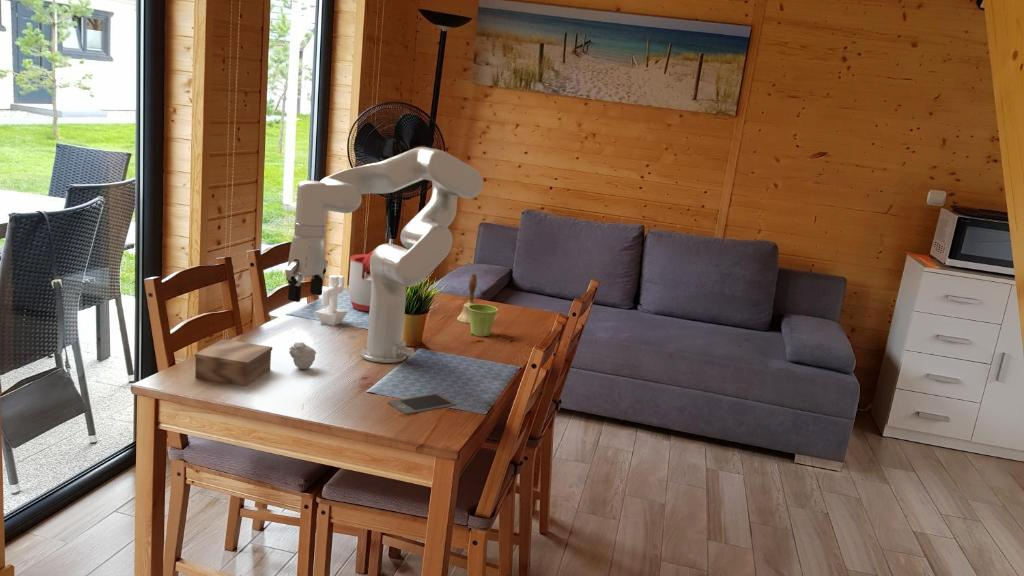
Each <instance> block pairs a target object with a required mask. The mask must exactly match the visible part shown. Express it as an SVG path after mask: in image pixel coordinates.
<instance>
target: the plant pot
mask: <svg viewBox="0 0 1024 576" xmlns="http://www.w3.org/2000/svg"><path fill="white" fill-rule="evenodd" d="M468 309H469V313H470V323H469V324H470V325H469V326H470V334H471V335H474V336H475V337H481V338H482V337H483V338H484V337H486V336H487V337H488V336H489V337H490V334H491V331H492V326H493V323H494V320H495V316H496V315H497V312H498V311H499V309H498V308H497V307H496V306H494V305H491V304H490V305H489V304H481V303H474V304H472V305H469V306H468Z"/></svg>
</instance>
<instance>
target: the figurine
mask: <svg viewBox="0 0 1024 576" xmlns="http://www.w3.org/2000/svg"><path fill="white" fill-rule="evenodd" d="M328 283H329V284H328V287H327V288H324V289H322V295H321V306H323V307H324V308H322V309H319V310H317V311H315V314H316V315H317V317H318V320H319V322H320V323H321V324H324V325H328V326H332V327H334V326H337V325H339V324H342V322H343V320H344V319H345V317H346V316H347V314H348V312H349V311H348V310H344V309H339V308H338V296H339V294H342V293H343V292H344V288H345V276H344V275H329V276H328Z"/></svg>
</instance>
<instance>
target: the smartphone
mask: <svg viewBox="0 0 1024 576" xmlns="http://www.w3.org/2000/svg"><path fill="white" fill-rule="evenodd" d="M387 404H388V405H390V406H391V407H393V408H394V409H396V410H398V411H399V412H401V413H402V414H403V415H411V414H417V413H423V412H427V411H432V410H438V409H443V408H444V409H445V408H449V407H455V406H456V405H457V404H458V403H457V402H455V401H453V400H451V399H450V398H448V397H447V396H445V395H443V394H441V393H439V392H435V393H428V394H422V395H417V396H410V397H406V398H401V399H395V400H388V401H387Z"/></svg>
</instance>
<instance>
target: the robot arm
mask: <svg viewBox="0 0 1024 576" xmlns="http://www.w3.org/2000/svg"><path fill="white" fill-rule="evenodd" d="M424 180H426V181H430V182H431V183H432V184H431V185H432V191H431V197H430V200H429V201H428V202H427V203H426V205H425V206H424V207H423V208H422V209H421V210H420V211H419V212H418V213H417V214H416V215H415V216H413V218H412V219H410V221H409V222H408V223H406V225H405V226H404V227H403V229H402V230H401V232H400V235H399V236H400V237H399V238H400V242H401V243H402V246H403V247H402V246H401V245H397V244H393V243H382V244H380V245H378V246H377V247H375V248H374V249H373V250H374V251H373V250H372V251H373V253H372V255H371V258H370V273H371V300H370V311H368V313H369V314H368V315H369V316H368V328H367V341H366V342H367V343H366V346H365V347H362V349H360V356H361V357H362V359H364V360H367V361H371V362H375V363H381V364H382V363H383V364H393V363H395V364H396V363H399V362H402V361H404V360H406V359H407V357H408V358H413V357H414V355H415V351H414V348H412V347H407V346H406V340H405V341H403V334H404V323H405V322H404V321H405V310H406V304H407V303H406V299H407V293H406V292H407V289H406V287H408V288H411V287H415V286H417V285H419V284H420V283H421V282H423V281H424V280H425V279H426V278H427V277H428V276H429V275H430V274H431V273H432V272H433V271H434V270H435V269H436V268H437V267H438V266H439V265H440V264H441V263H442V262H443V260H445V258H447V256H448V255H449V254H450V252H451V249H452V247H453V234H452V232H451V230H450V229H449V228H448V227H449V226H450V225H451V224H452V223H453V221H454V220H455V218H456V215H457V209H458V204H457V203H458V198H462V199H468V200H469V199H474V198H476V197H477V196H478V195H479V194H480V193H481V191H482V189H483V187H484V186H483V185H484V180H483V177H482V174H481V173H480V171H479V170H477V169H476V168H475V167H473V166H471V165H469V164H468V163H466V162H464V161H462V160H461V159H458V158H457V157H455V156H453V155H451V154H450V153H448V152H446V151H444V150H441V149H437V148H436V149H435V148H431V147H426V146H417V147H414V148H412V149H409V150H407V151H405V152H403V153H399V154H397V155H395V156H392V157H389V158H387V159H384V160H382V161H378V162H373V163H369V164H365V165H359V166H355V167H352V168H348V169H347V168H346V169H344V170H341V171H338V172H335V173H332V174H331V175H328V176H325V177H323V178H322V179H321V180H320V181H318V180H312V179H311V180H308V179H305V180H300V181H299V182H298V184H297V187H296V188H297V191H296V204H295V206H296V207H295V219H294V234H293V237H292V240H291V243H290V249H289V252H288V253H289V255H288V262H287V268H286V269H285V270H284V272H285V276H286V277H285V279H286V281H287V285H288V292H287V293H288V294H287V299H288V301H292V302H296V303H300V302H301V295H302V286H301V284H302V281H303V279H306V278H310V277H312V278H310V287H309V288H310V289H309V292H310V294H312V295H316V296H322V294H323V284H324V283H323V282H324V280H325V275H326V272H327V267H328V265H329V261H328V260H327V259H326V233H327V232H326V231H327V218H328V212H335V213H342V214H350V213H353V212H355V211H356V210H357V209H359V207H360V206H361V204H362V200H363V199H362V195H366V194H376V195H377V194H381V195H382V194H383V195H384V194H390V193H394V192H397V191H399V190H402V189H404V188H406V187H408V186H409V187H410V186H411V185H413V184H415V183H419V182H420V181H424ZM296 278H297V279H296Z"/></svg>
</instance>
